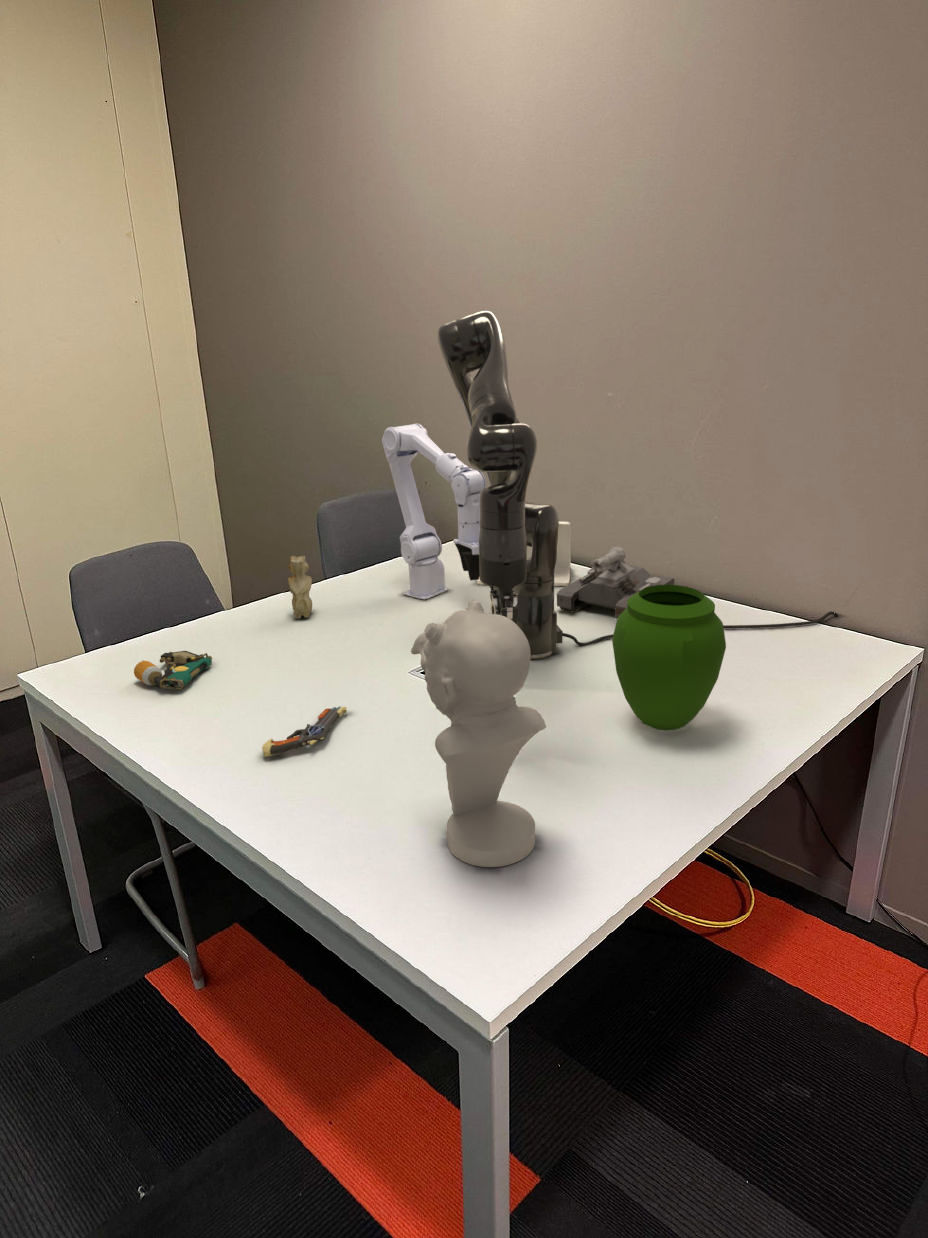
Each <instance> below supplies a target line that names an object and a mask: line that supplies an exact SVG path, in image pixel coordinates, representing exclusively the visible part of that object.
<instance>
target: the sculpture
mask: <svg viewBox="0 0 928 1238" xmlns="http://www.w3.org/2000/svg"><path fill="white" fill-rule="evenodd" d="M309 568H310V567H309V564H308V563H307V562H306V555H303V554H302V555H300V556H295V555H291V556H290V564H288V565H287V569H288V570H289V571H290V572H291V573H292V576H290V577H288V578H287V583H288V587H289V593H291V594H292V599H291V607H292V610H293V614H294V617H295V619H301V618H302V616H303V617H304V618H306V619H307V618H310V616H311V613H312V612H313V600H312V599H311V596H310V591H311V589H312V585H313V580H312V577H311V576H310V575H308V574H307V575H306V572H308V571H309V570H310V569H309Z"/></svg>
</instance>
